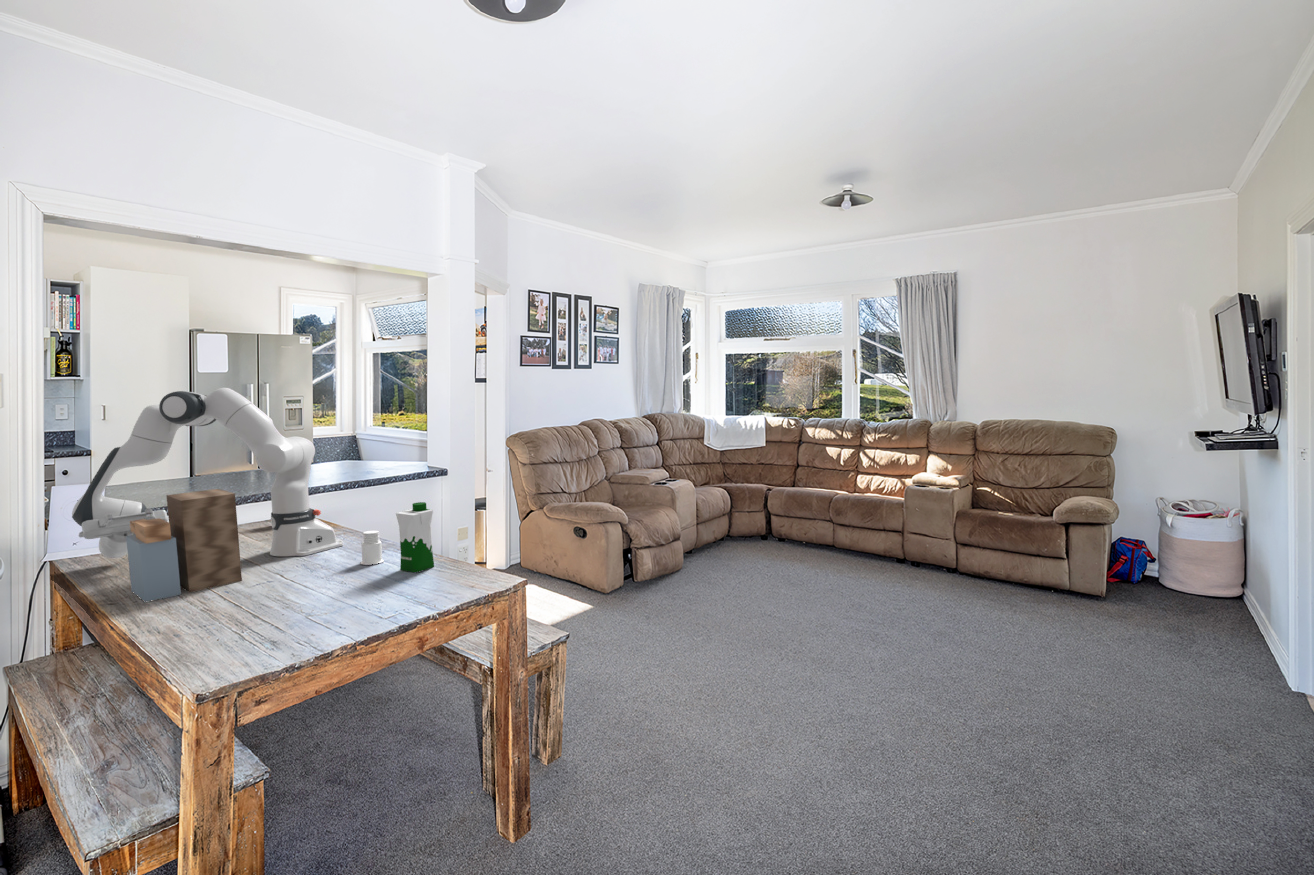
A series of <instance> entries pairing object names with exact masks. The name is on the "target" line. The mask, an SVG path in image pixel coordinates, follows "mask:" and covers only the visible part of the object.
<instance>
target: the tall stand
mask: <svg viewBox="0 0 1314 875" xmlns="http://www.w3.org/2000/svg"><path fill="white" fill-rule="evenodd" d="M166 504H167V517H168V522H169V523H170V530H171V536H173V537H175V538H176V546H177V557H178V568H179V579H180V588H182V589H183V590H185V591H186V592H188V593H194V592H198V591H203V590H206V589H211V588H212V589H213V588H215V587H220V586H221V587H222V586H225V585H229V584H233V583H239V582H241V581H242V582H243V576H242V565H241V564H242V563H241V551H240V541H239V540H240V539H239V527H238V516H237V503H236V494H235V493H234V492H232V491H231V492H230V491H227V490H224V489H220V488H212V489H207V490H205V489H204V490H197V491H189V492H182V493H174V494H166Z"/></svg>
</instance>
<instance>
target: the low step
mask: <svg viewBox="0 0 1314 875" xmlns="http://www.w3.org/2000/svg"><path fill="white" fill-rule="evenodd" d="M126 540H127V551H128V553H127V560H128V569H129V580H130V589H131V593H132V592H134V593H135V594H136V595H138V597H137V598H139V597H140V598H141V599H142V600H144V601H145V602H146V601H150V602H152V601H151V600H155V601H157V600H156V599H159V600H163V599H167V598H171V597H176V595H177V596H181V594H182V592H181V587H180V579H179V568H178V557H177V546H176V538H175V537H173V536H171V539H170V540H164V541H158V542H153V543H147V544H146V543H144V542H142V541H140V540H139V539H137V538H136V535H131V536H126ZM135 594H134V595H135ZM136 595H135V596H136ZM140 598H139V599H140ZM162 598H163V599H162ZM141 599H140V600H141ZM142 600H141V601H142ZM144 601H143V602H144ZM145 602H144V603H145ZM146 603H147V602H146Z"/></svg>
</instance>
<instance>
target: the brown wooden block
mask: <svg viewBox="0 0 1314 875" xmlns="http://www.w3.org/2000/svg"><path fill="white" fill-rule="evenodd" d="M130 529H131V532H133V533H134V534H136V538H137V539H139V540H140V541H142V542H144V543H146V544H147V543H153V542H158V541H164V540H170V539H171V530H170V523H169V521H167V522H166V521H164V520H162V519H160V518H158V519H151V520H145V519H141V520H135V521H130Z"/></svg>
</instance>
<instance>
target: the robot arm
mask: <svg viewBox="0 0 1314 875" xmlns="http://www.w3.org/2000/svg"><path fill="white" fill-rule="evenodd" d="M217 421H218V422H219V423H221V425H223V426H224V427H225V428H226V429H228V430H229V431H230V432H231V433H233V434H234V435H235V436H236V437H238V439H240V440H241V441H242V442H243V443H244V444H245V445H246V446H247V447H248V448H249V450H250V451H251V452H252V454H253V455H254V457H255V462H256V464H257V466H258V467H259V468H260V469H261V470H262V471H264V472H266V473H271V474H275V476H274V481H273V483H272V486H271V487H270V488H271V489H270V497H271V498H270V501H271V509H272V510H271V513H270V524H271V525H270V526H271V528H272V538H271V539H272V541H271V545H270V546H271V548H270V551H269V555H270V556H273V557H292V556H293V557H294V556H295V557H296V556H299V557H301V556H302V557H303V556H310V555H311V554H316V553H319V552H325V551H327V550H331V549H335V548H338V547H342V546H344V541H343V540H342V539H340V538H337V536H336V532H335V530H334V528H333V526H330V525H328V524H327V523H326V522H323V521H322V520H320V519H318V518H316V517H318V516H320V515H321V514H322V511H321V510H320V509H316V508H315V509H314V508H310V500H309V499H310V497H309V481H310V474H311V466H312V462H313V460H314V457H315V455H316V448H315V445H314V443H313V442H312V441H311V440H309V439H308V438H307V437H302V436H297V435H296V436H289V437H286V436H284V435H282V434H281V433H280V432H279V430H278V429H277V428H276V426H275V424H274V421H273V419H272V418H271V417H270V416H268V415H267V414H266V413H265V412H264V411H263V410H261V409H260V408H259V407H258V406H256V405H255V404H254V403H253V402H252V401H250V400H249V399H248V398H246V397H245V396H244V395H242V394H241V393H239V392H237V391H236V390H233V389H232V388H229V387H219V388H217V389H214V390H213V391H211V392H210V393H209V394H208V395H206V394H201V393H198V392H194V391H184V390H177V391H172V392H169V393H167V394H166V395H164V396H163V397H162V398H161V400H160V402H159V404H151V405H147V406H146V407H144V408H143V410H142V411H141V413H140V414H139V416H138V418H137V420H136V422H135V424H134V425H133V428H132V431H131V433H130V437H129V438H128V440H127V441H125V443H124V444H123V445H121V446H117V447H114V448H113V449H112V450H111V451H110V452H109V453H108V454H107V456H106V458H105V459H104V461H103V463H101V465H100V467H98V468H99V469H98V470H97V471H96V474H95V475H94V477H93V478H92V480H91V482H90V483H89V485H88V487H87V489H86V491H85V492H84V493H83V495H82V496H81V497H80V498H79V499H78V500H77V501H76V503H75V505H74V506H73V508H72V513H71V518H72V520H74V522H76V524H77V525H79V526H80V527H81V530H82V531H80V532H79V533H78V537H79V538H84V539H85V540H95V539H99V542H98V550H99V553H100V554H101V555H102V556H104V557H106V558H107V559H108V558H109V559H120V558H122V557H124V556H126V555H128V551H127V540H126V536H131V535H136V534H134V533H133V532H131V529H130V521H135V520H141V519H145V520H151V519H158V518H160V519H162V520H164V521H166V522H169V518H168V512H167V511H166V510H165V509H158V510H153V508H147V506H146V504H144V503H143V502H140V501H135V500H130V499H120V498H115V497H107V496H104V495H103V492H104V491H105V489H106V487H107V486H108V484H109V482H110V481H111V479H112V477H114V474H116V473H117V472H118V471H119V470H122V469H126V468H134V467H143V466H149V465H154V464H157V463H159V462H161V461H163V460H165V458H166V457H167V456H168V455H169V452H170V450H171V448H172V445H173V442H174V439H175V436H176V433H177V432H178V430H180V428H181V427H184V426H186V427H204V426H209V425H211V424H213V423H215V422H217Z"/></svg>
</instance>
